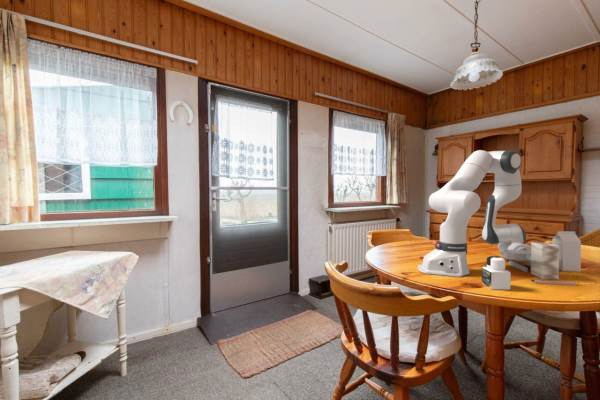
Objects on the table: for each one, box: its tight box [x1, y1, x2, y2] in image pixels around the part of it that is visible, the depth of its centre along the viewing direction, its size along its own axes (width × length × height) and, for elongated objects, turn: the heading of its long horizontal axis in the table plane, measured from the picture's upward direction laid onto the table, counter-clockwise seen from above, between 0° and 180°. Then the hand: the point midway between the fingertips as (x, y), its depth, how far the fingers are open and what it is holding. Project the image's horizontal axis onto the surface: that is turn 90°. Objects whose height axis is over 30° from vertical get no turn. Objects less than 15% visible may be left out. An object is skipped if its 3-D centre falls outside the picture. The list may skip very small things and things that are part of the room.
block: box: [530, 242, 560, 280], centre depth 119 cm, size 6×8×14 cm
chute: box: [508, 260, 578, 286], centre depth 125 cm, size 14×27×3 cm, turn 167°
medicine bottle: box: [481, 255, 512, 291], centre depth 110 cm, size 7×7×12 cm
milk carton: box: [551, 230, 582, 273], centre depth 130 cm, size 7×7×19 cm
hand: (538, 259), depth 123 cm, fingers closed, pressing on block
